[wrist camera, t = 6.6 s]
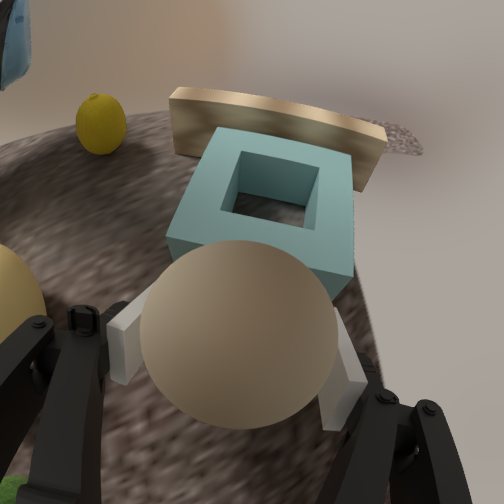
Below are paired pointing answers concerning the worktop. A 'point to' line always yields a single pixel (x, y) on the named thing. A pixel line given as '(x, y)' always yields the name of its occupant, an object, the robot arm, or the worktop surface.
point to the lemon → (100, 124)
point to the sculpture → (17, 293)
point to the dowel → (238, 334)
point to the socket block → (275, 187)
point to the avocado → (11, 488)
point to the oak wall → (273, 125)
